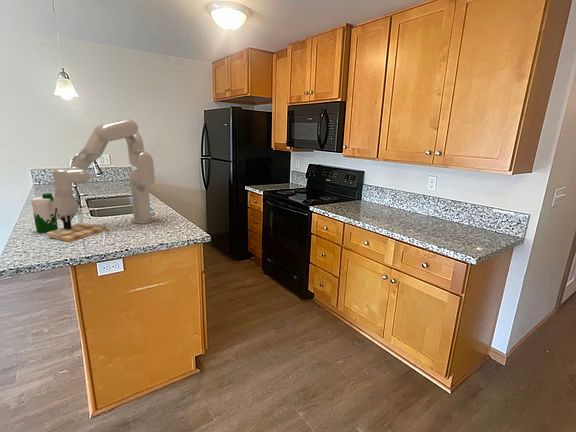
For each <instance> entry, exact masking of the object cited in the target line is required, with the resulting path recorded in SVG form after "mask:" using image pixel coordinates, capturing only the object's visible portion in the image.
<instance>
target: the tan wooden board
mask: <svg viewBox="0 0 576 432" xmlns="http://www.w3.org/2000/svg"><path fill="white" fill-rule="evenodd" d="M93 226H95V225H93V224H88V223H85V222H80V223H76V224H71V229H65V228H64V227H62V228H58V229H57V230H54V231H50V232H47V233H46V236H47V237H49V238H51V239H52V238H53V239H56V240H59V241H60V236H64V235H67V234H70V233H74V232H77V231H80V230H84V229H87V228H90V227H93Z"/></svg>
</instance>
